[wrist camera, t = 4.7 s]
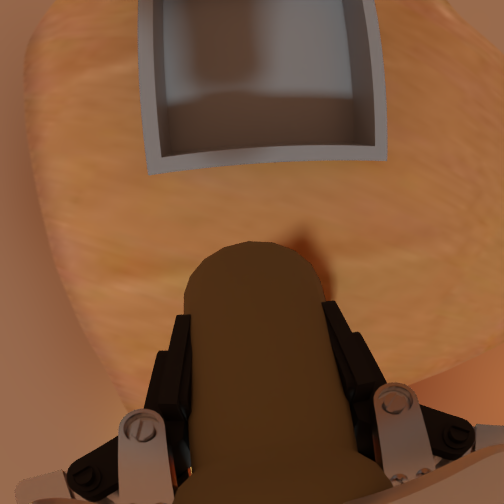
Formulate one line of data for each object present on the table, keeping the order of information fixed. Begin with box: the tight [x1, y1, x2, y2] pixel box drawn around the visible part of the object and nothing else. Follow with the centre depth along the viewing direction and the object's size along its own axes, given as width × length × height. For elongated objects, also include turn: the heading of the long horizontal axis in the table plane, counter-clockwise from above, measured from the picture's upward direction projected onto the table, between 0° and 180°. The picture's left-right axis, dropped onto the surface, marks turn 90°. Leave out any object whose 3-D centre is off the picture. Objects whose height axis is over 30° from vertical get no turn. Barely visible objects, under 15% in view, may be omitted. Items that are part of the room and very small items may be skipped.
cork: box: [172, 241, 393, 504], centre depth 7 cm, size 6×6×11 cm
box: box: [138, 0, 387, 175], centre depth 16 cm, size 16×16×4 cm
